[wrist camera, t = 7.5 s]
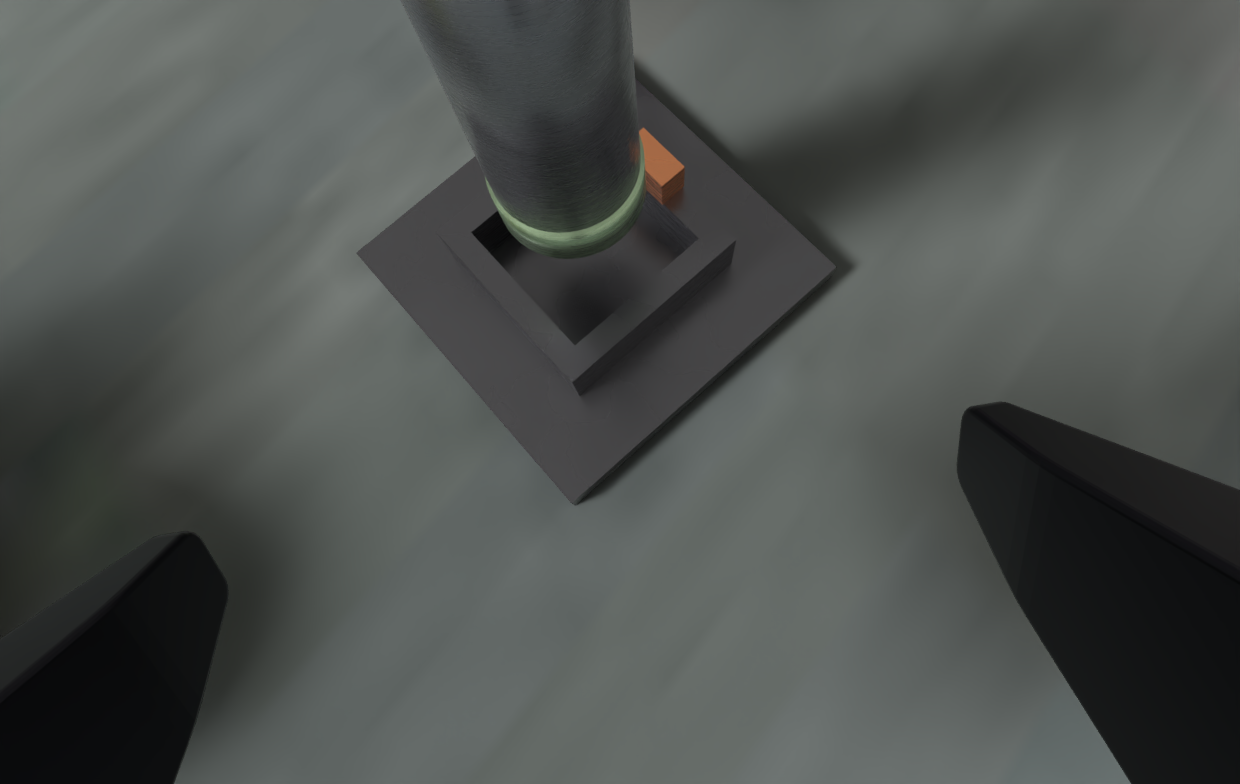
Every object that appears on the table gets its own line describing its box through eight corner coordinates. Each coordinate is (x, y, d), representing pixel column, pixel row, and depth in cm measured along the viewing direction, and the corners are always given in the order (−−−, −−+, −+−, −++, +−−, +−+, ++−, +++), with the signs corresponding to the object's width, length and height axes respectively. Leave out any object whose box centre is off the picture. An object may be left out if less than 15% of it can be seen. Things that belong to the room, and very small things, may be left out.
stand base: (830, 277, 21) (859, 225, 18) (575, 505, 20) (556, 494, 17) (607, 67, 23) (597, -15, 20) (367, 263, 22) (314, 212, 19)
